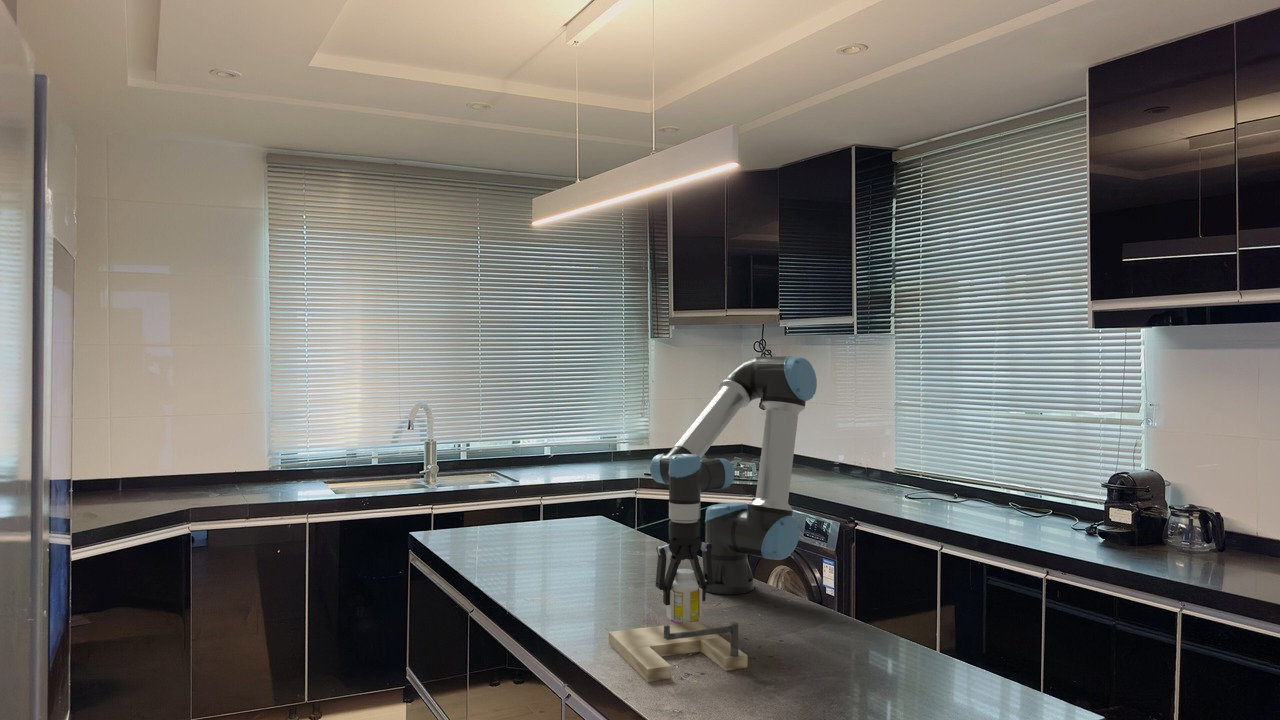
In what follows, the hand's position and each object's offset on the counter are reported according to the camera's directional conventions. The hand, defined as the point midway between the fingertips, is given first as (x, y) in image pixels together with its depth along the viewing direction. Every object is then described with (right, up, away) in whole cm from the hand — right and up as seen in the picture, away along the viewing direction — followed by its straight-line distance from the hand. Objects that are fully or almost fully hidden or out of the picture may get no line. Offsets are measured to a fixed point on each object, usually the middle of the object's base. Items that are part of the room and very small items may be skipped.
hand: (684, 616), depth 202 cm
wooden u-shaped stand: (-3, -2, -20) cm, 21 cm away
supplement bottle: (0, -2, 0) cm, 2 cm away
